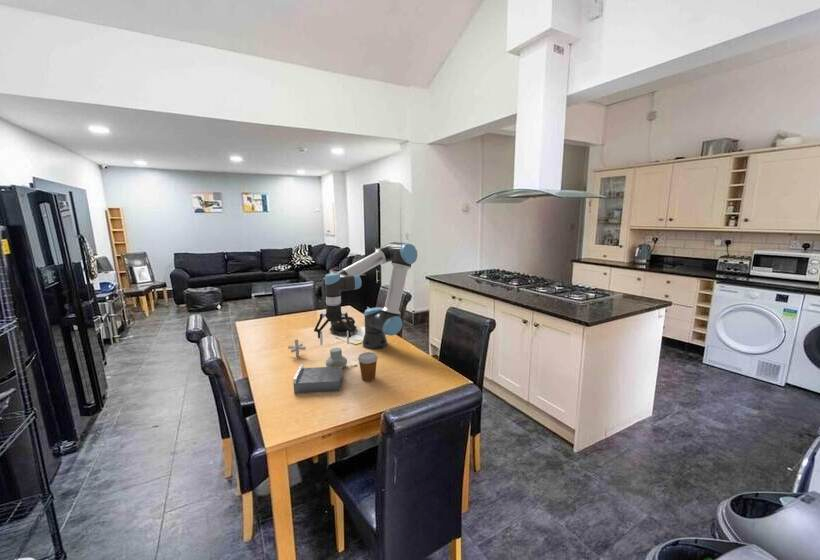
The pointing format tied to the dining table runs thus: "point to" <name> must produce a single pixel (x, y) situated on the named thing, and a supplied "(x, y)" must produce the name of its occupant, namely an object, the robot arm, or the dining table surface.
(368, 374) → the disposable coffee cup
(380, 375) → the dining table surface
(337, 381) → the block
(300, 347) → the pipe connector
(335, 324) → the casserole
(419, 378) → the dining table surface
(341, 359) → the air freshener
